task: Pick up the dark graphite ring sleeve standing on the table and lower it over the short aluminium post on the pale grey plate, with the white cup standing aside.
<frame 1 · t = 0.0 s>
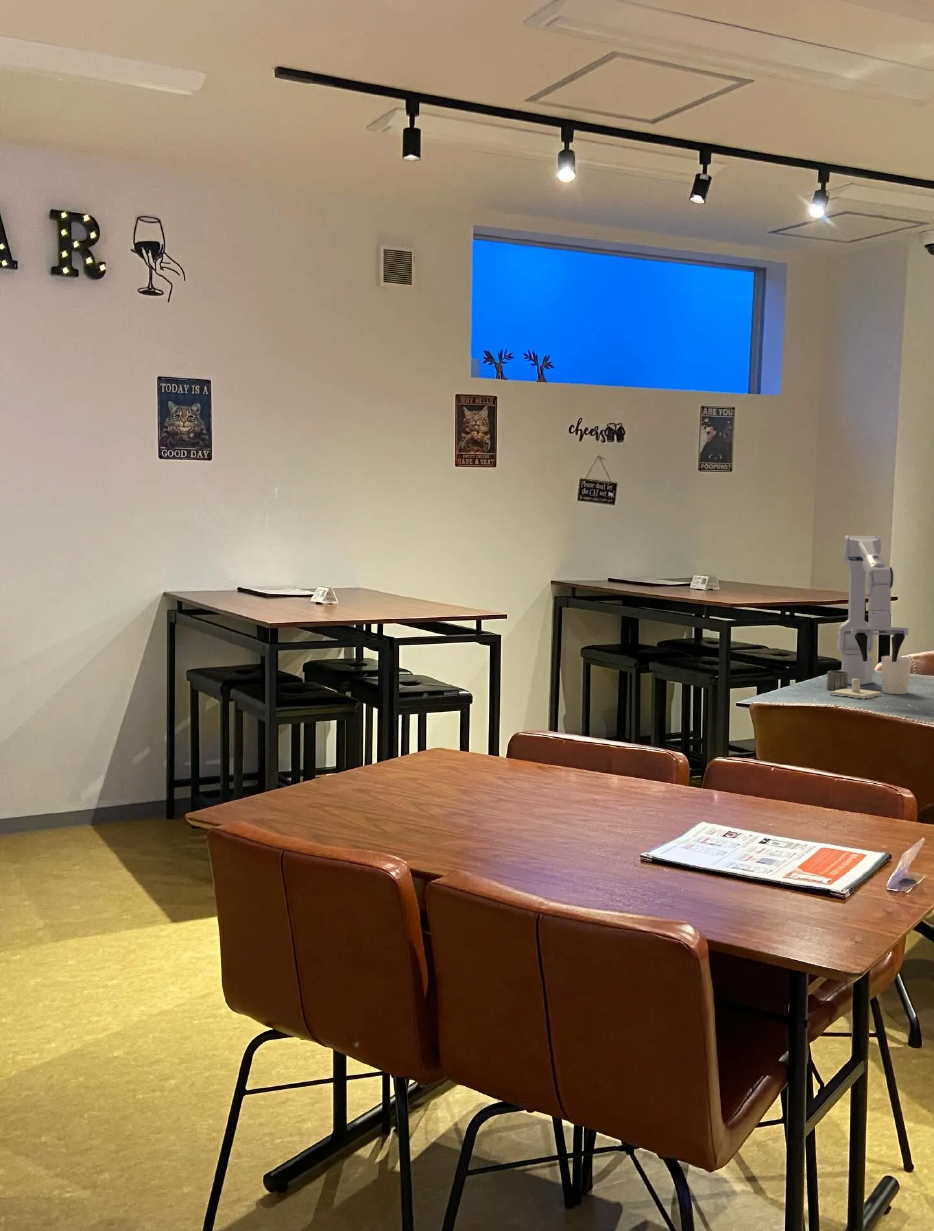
hand: (879, 661, 323), 11 cm above the table, tool pointing down, fingers open, 7 cm apart
white cup: (895, 693, 338), on the table
ring: (837, 689, 343), on the table
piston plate: (855, 695, 332), on the table
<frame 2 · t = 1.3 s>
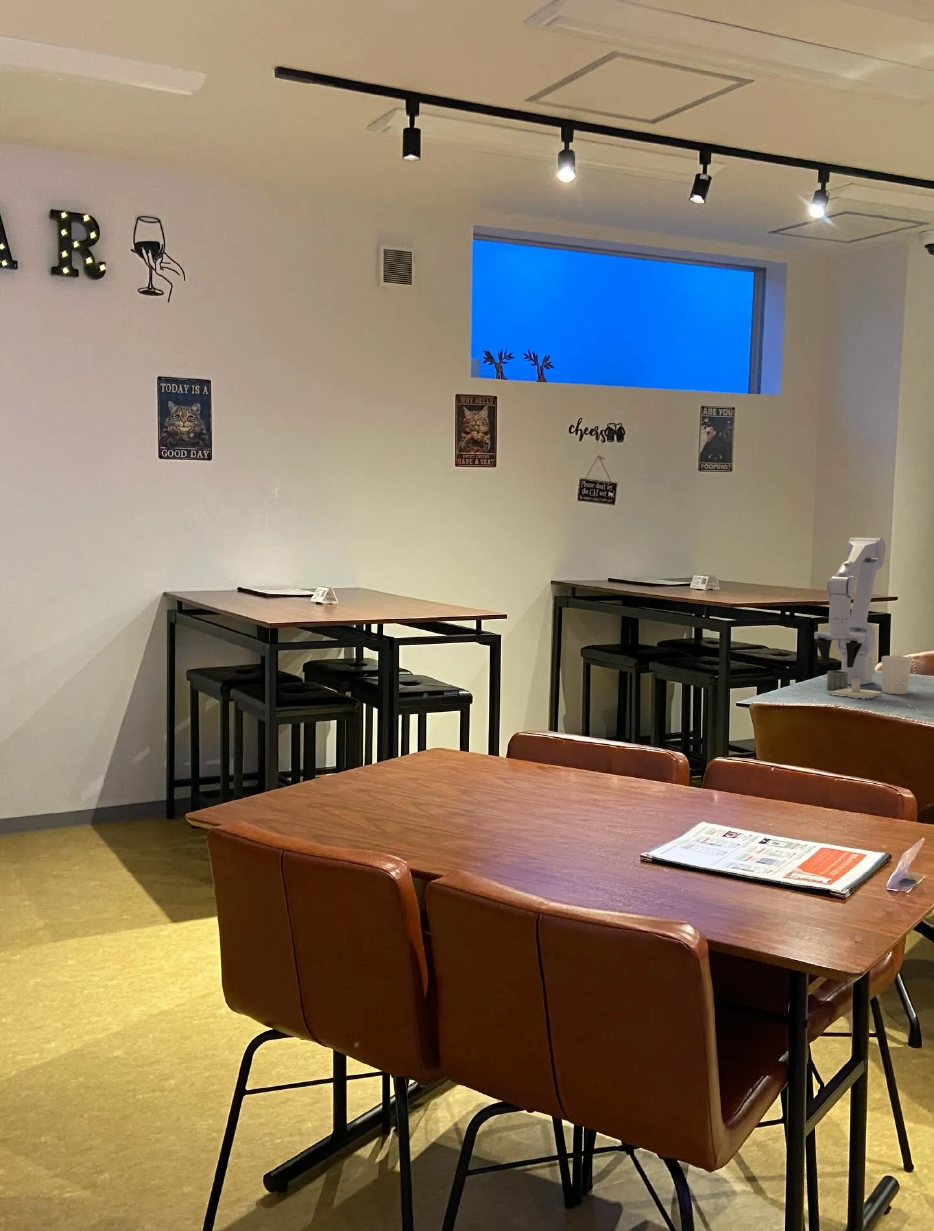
hand: (837, 665, 342), 7 cm above the table, tool pointing down, fingers open, 7 cm apart
nothing on the table moved.
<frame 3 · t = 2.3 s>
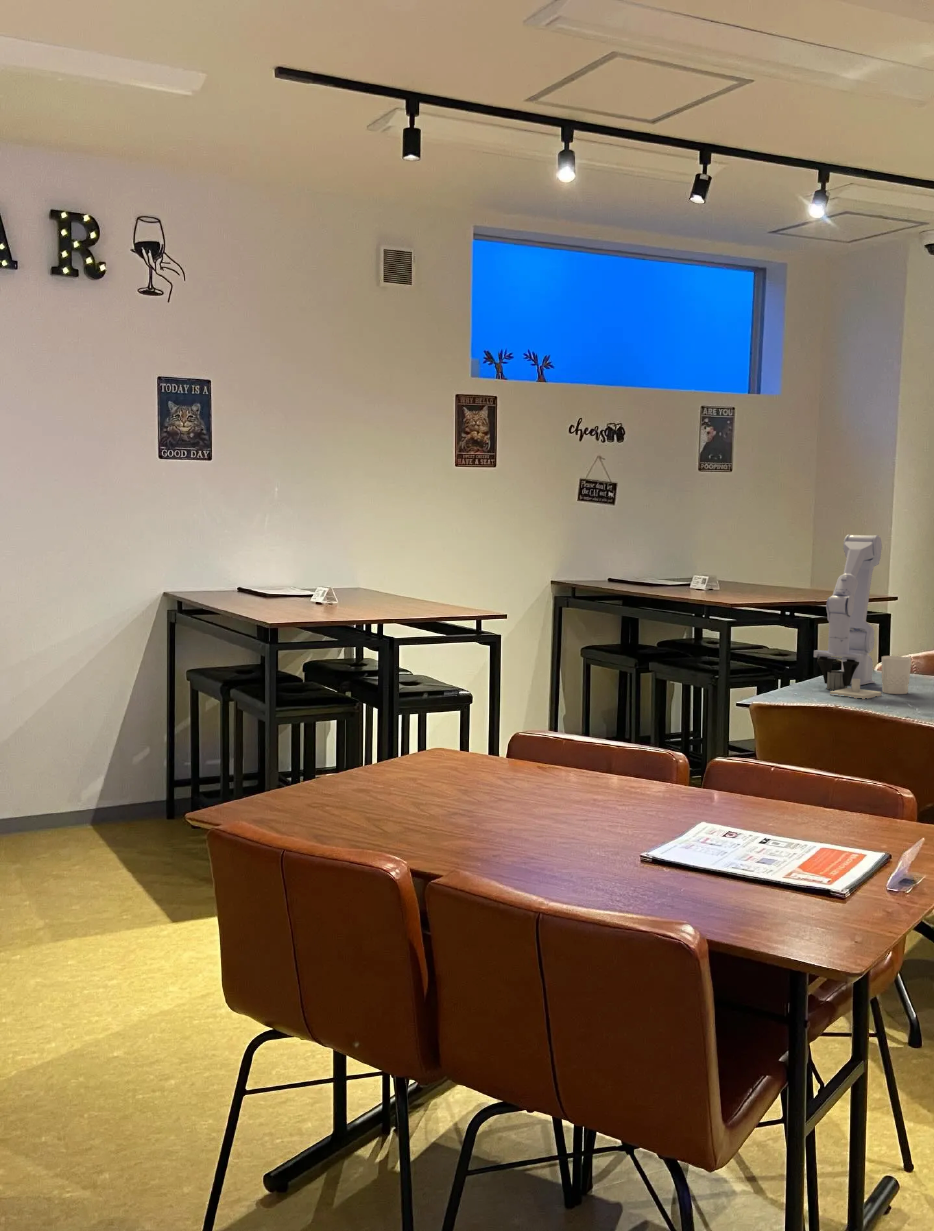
hand: (837, 684, 343), 1 cm above the table, tool pointing down, fingers closed on ring, 6 cm apart
ring: (837, 689, 343), on the table, touching gripper
everything else where it was.
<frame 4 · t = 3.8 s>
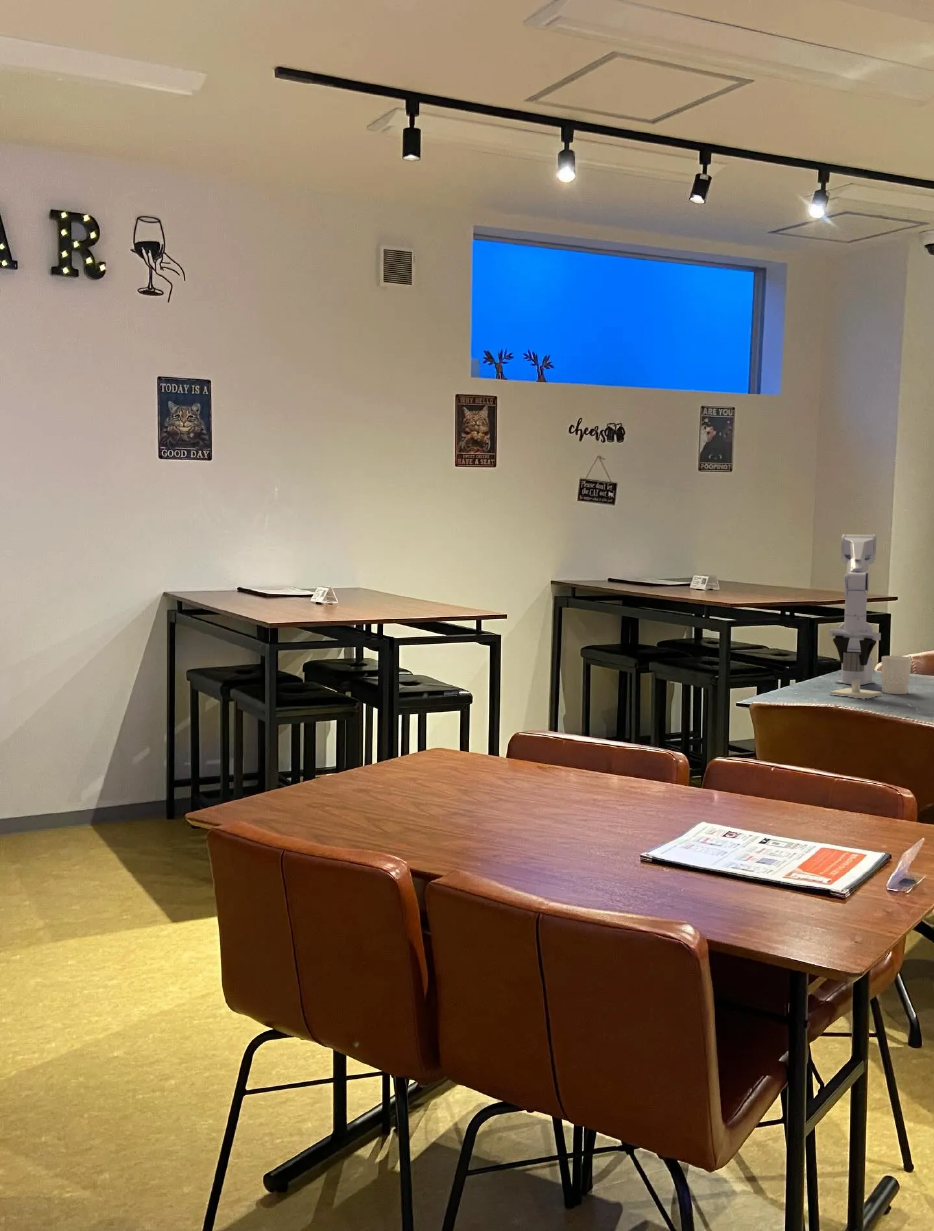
hand: (853, 664, 333), 9 cm above the table, tool pointing down, fingers closed on ring, 6 cm apart
ring: (853, 670, 333), point 7 cm above the table, touching gripper
everything else where it was.
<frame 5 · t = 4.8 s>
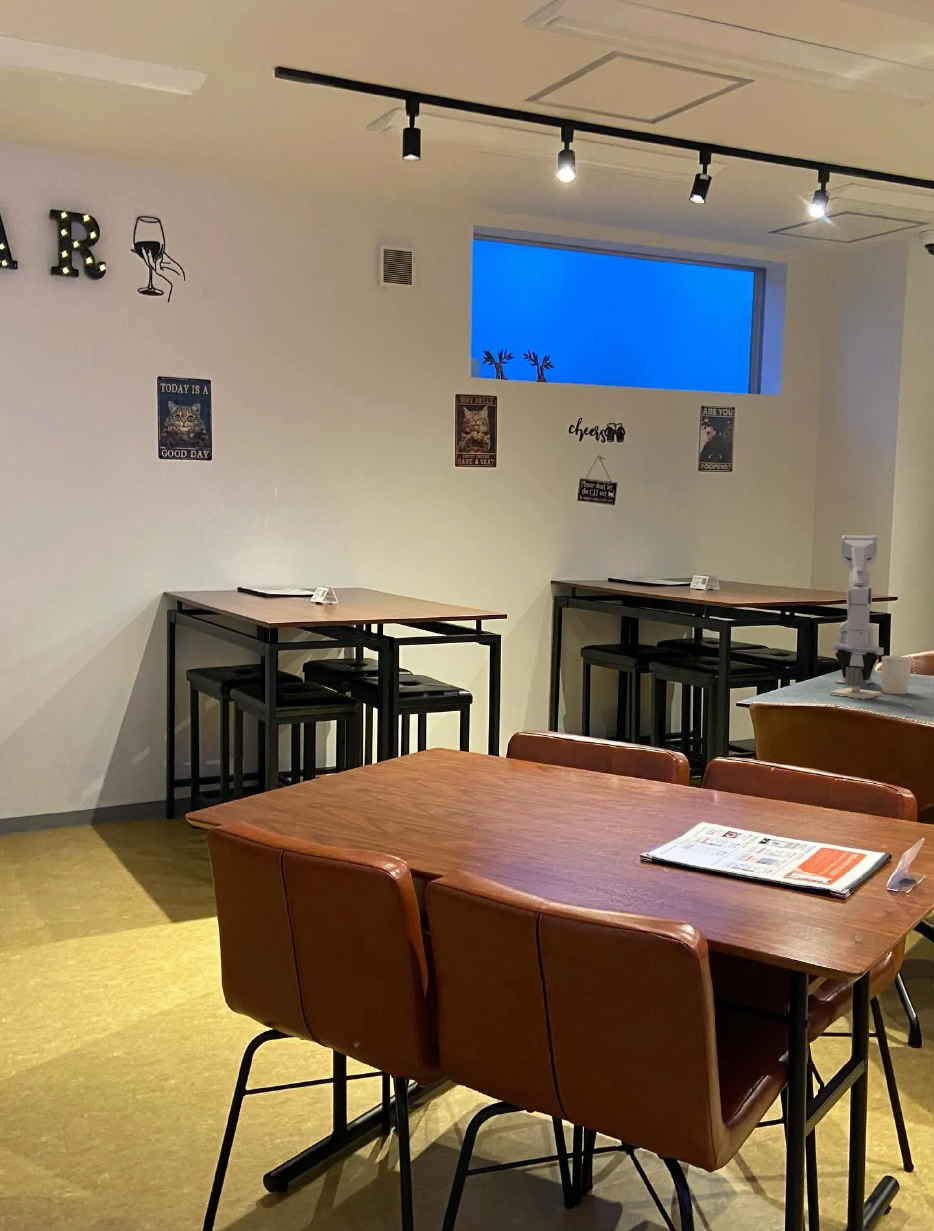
hand: (856, 678, 332), 5 cm above the table, tool pointing down, fingers closed on ring, 6 cm apart
ring: (855, 684, 332), point 3 cm above the table, touching gripper
everything else where it was.
when the fingers open (4 cm above the table, at t = 5.6 s): ring drops 1 cm, resting on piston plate.
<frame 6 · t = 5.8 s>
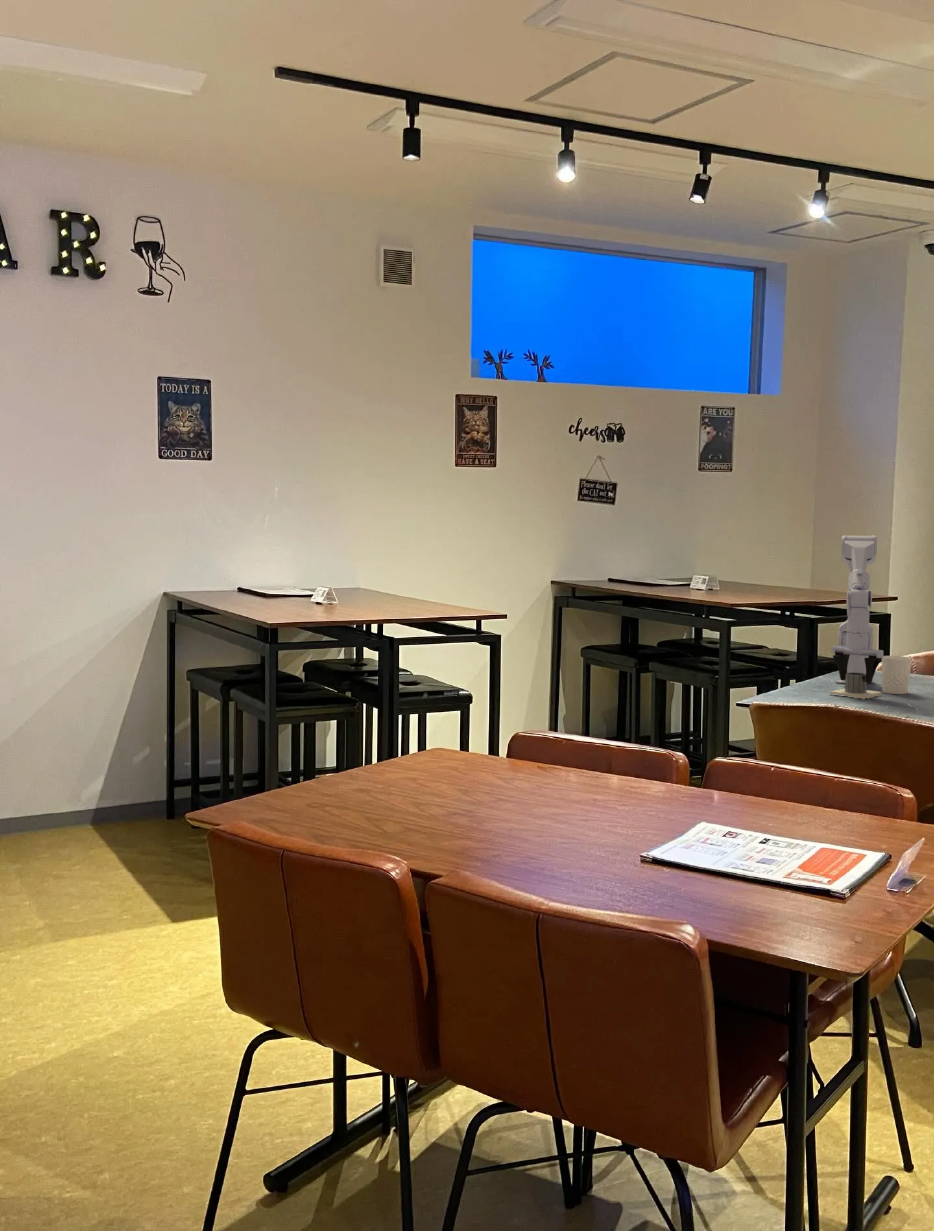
hand: (856, 681, 332), 4 cm above the table, tool pointing down, fingers open, 7 cm apart
ring: (855, 691, 332), point 1 cm above the table, touching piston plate
everything else where it was.
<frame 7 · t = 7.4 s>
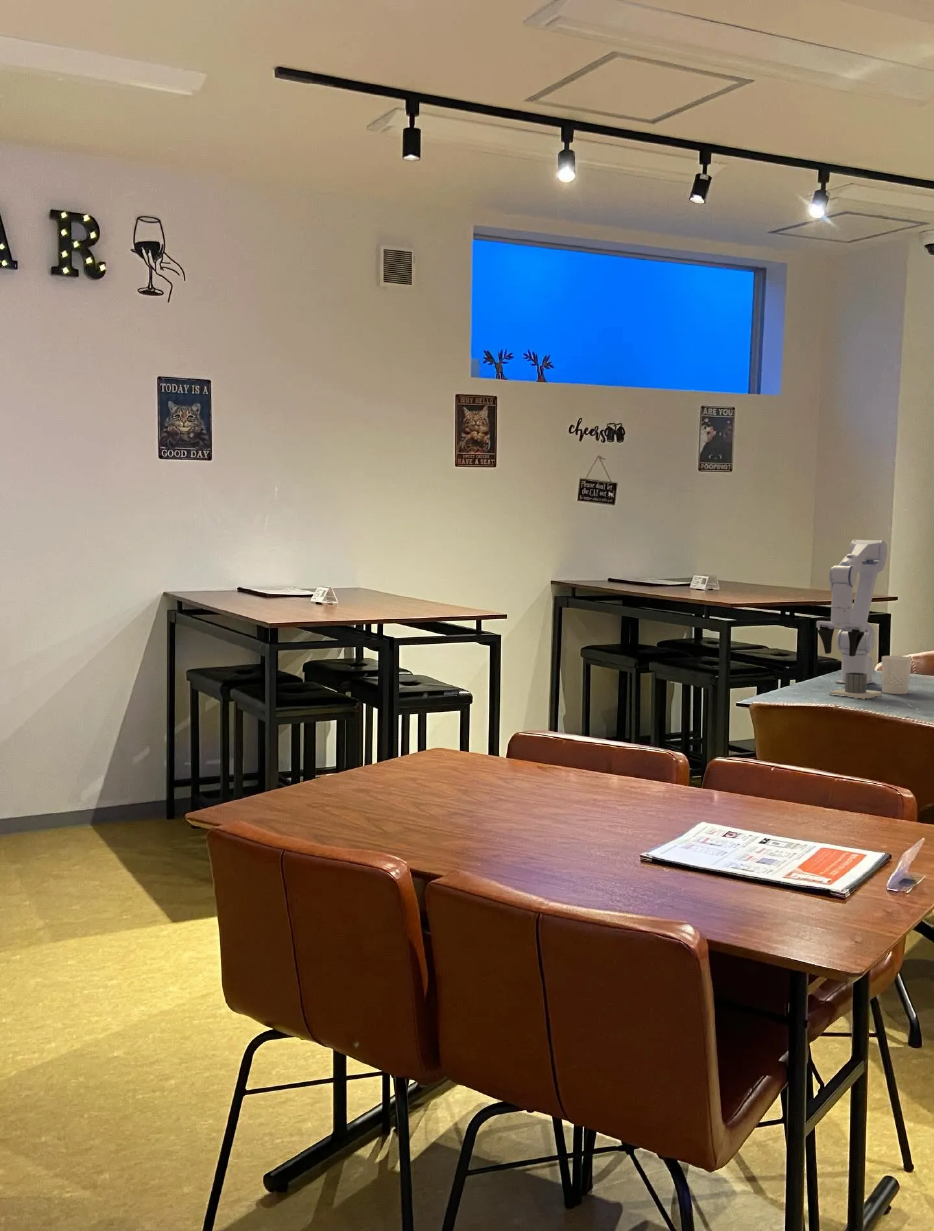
hand: (840, 654, 343), 10 cm above the table, tool pointing down, fingers open, 7 cm apart
nothing on the table moved.
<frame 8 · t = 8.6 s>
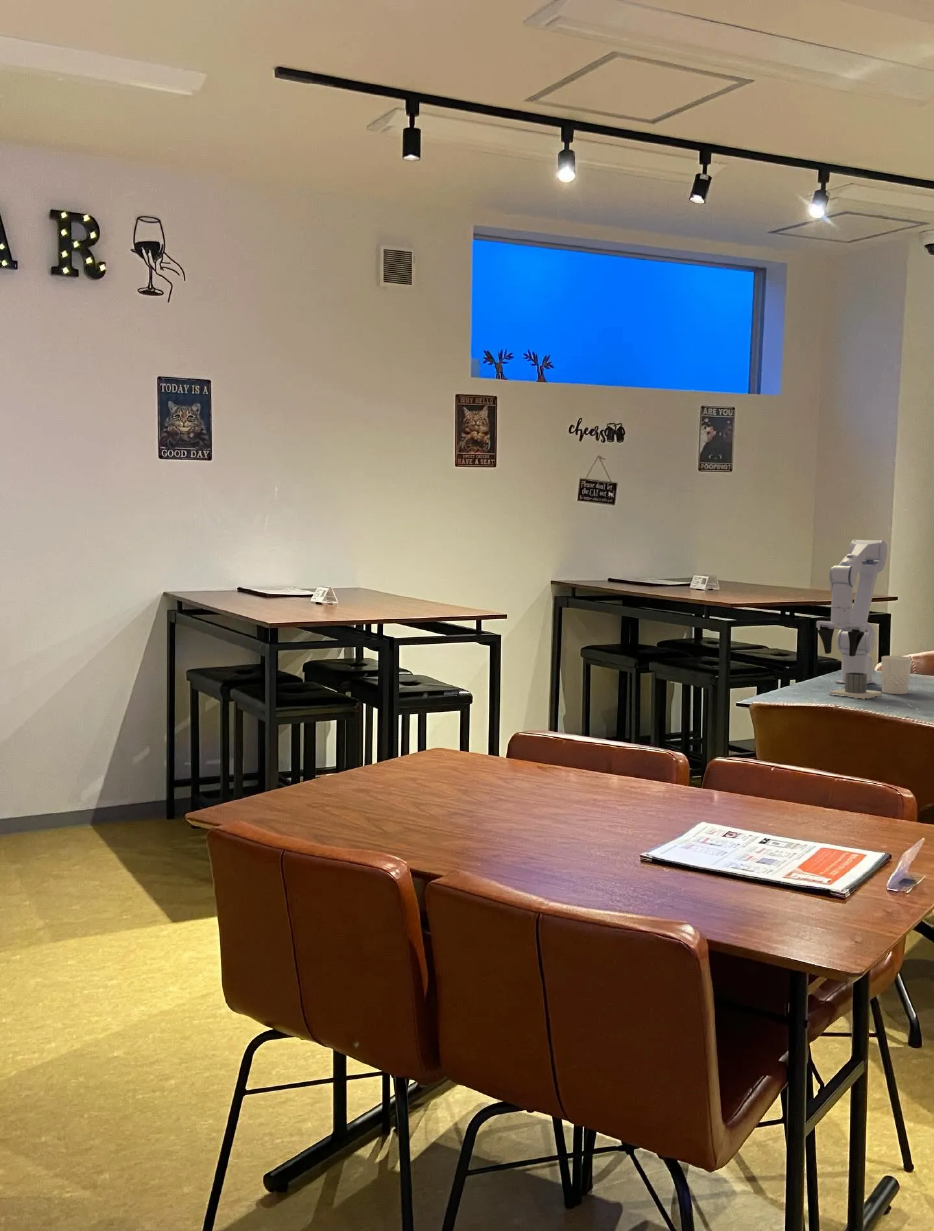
hand: (840, 654, 343), 10 cm above the table, tool pointing down, fingers open, 7 cm apart
nothing on the table moved.
at the end: ring 0.1 cm off-centre on the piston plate, point 1.0 cm above the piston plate's base; the gripper is holding nothing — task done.
